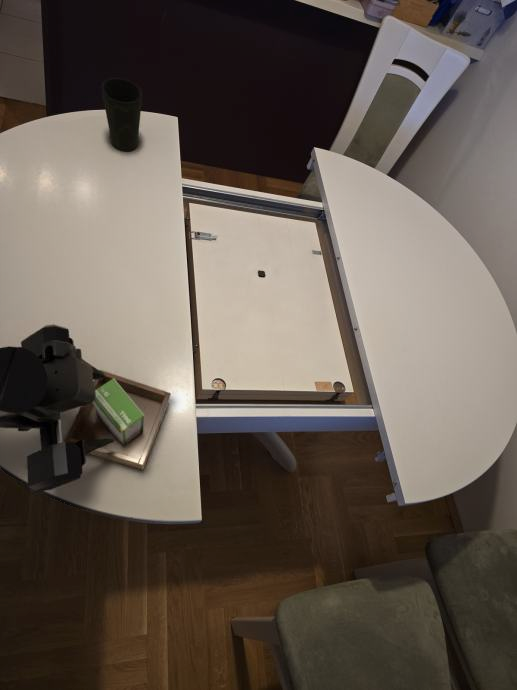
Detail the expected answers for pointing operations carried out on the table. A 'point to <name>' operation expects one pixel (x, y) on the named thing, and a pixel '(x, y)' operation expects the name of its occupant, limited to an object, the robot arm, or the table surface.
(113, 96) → the cup
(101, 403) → the ink box
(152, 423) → the holder
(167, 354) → the table surface
